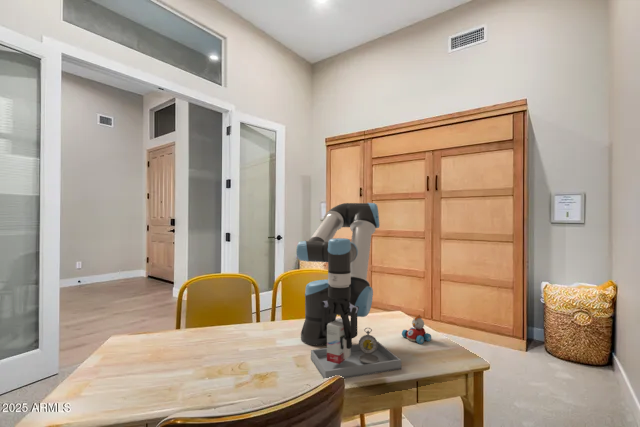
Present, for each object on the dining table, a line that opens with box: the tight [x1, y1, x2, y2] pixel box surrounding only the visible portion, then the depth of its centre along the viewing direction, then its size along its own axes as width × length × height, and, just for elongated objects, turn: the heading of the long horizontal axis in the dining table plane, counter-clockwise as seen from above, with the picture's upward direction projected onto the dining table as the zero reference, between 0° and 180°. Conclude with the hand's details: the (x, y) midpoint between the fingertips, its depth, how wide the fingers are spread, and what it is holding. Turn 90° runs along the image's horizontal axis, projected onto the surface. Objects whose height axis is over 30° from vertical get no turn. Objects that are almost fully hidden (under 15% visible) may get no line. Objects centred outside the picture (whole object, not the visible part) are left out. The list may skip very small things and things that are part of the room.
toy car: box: [401, 314, 432, 345], centre depth 130 cm, size 9×9×10 cm
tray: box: [310, 341, 402, 379], centre depth 108 cm, size 26×16×3 cm, turn 108°
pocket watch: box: [357, 327, 379, 364], centre depth 110 cm, size 8×8×10 cm
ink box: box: [326, 317, 351, 364], centre depth 106 cm, size 9×5×12 cm, turn 148°
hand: (339, 355), depth 106 cm, fingers closed on ink box, 5 cm apart
